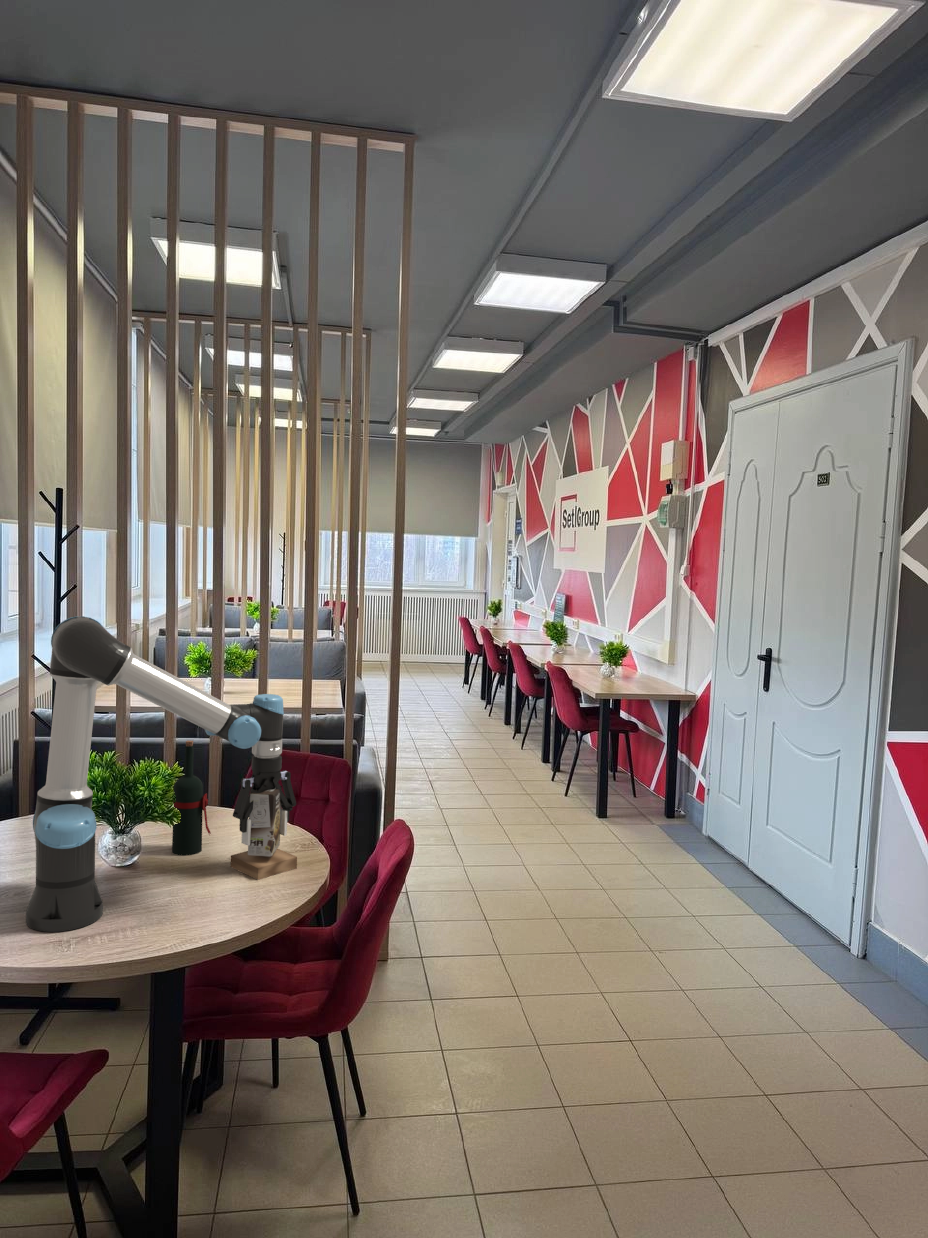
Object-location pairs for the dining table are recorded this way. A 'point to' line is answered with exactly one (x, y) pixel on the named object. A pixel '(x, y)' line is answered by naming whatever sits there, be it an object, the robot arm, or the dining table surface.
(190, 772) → the wine bottle
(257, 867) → the block
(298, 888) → the dining table surface
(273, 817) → the coffee box
